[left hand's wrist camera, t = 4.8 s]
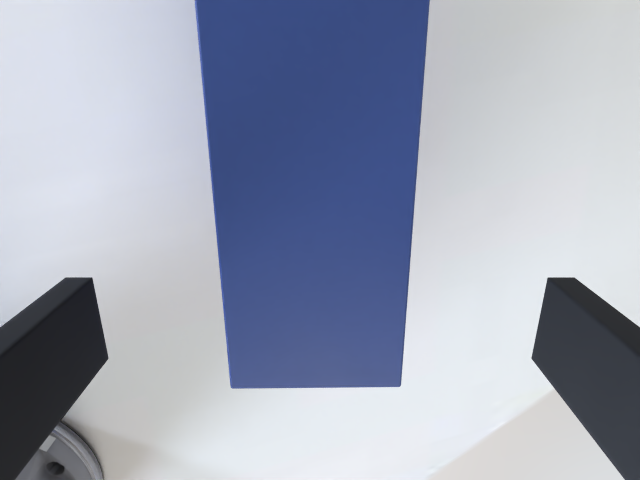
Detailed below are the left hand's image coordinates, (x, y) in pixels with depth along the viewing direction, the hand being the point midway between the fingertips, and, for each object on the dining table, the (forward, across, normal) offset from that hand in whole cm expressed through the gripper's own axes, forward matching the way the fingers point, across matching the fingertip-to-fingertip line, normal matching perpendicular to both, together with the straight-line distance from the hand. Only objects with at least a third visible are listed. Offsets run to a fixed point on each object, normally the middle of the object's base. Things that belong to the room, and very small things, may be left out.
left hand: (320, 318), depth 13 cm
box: (+13, 0, -10) cm, 16 cm away
